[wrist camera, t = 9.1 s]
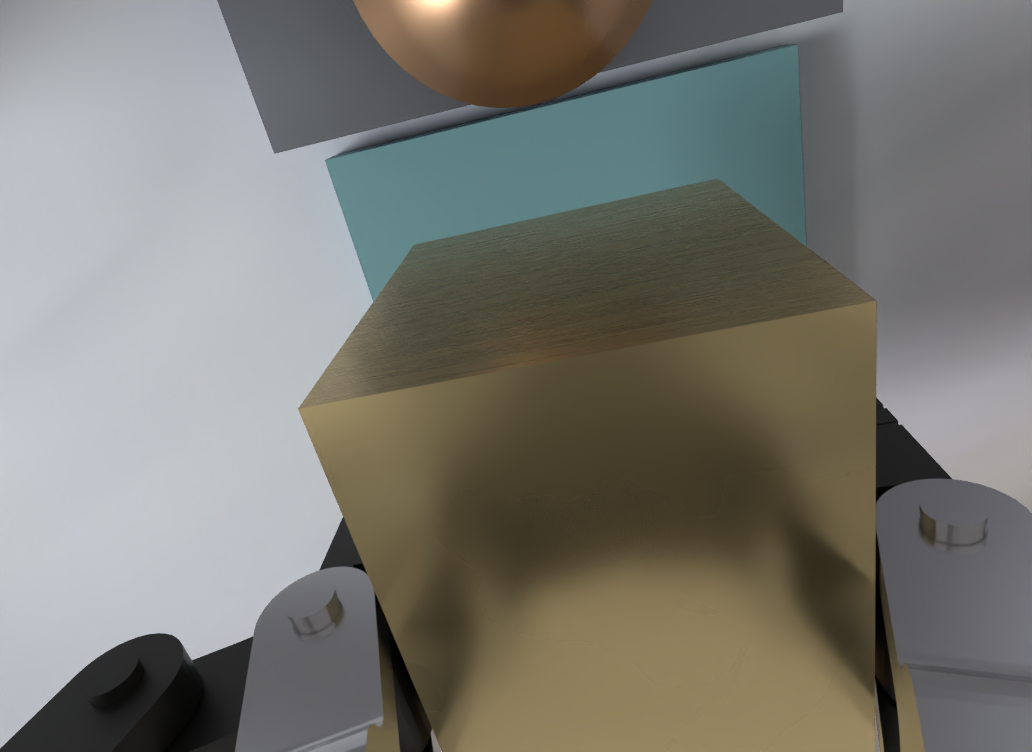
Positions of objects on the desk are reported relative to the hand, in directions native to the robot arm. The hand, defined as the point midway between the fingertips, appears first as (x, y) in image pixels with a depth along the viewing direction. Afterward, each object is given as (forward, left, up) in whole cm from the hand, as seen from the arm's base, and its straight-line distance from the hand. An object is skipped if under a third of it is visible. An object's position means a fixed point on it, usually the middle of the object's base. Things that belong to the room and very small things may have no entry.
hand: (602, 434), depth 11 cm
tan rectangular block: (0, 0, 0) cm, 0 cm away
